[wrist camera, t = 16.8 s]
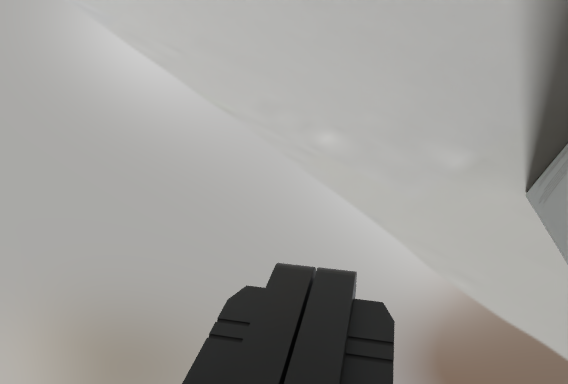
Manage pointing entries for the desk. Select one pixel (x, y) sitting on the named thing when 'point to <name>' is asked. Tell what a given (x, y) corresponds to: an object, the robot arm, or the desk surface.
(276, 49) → the desk surface
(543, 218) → the skincare box
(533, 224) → the desk surface
